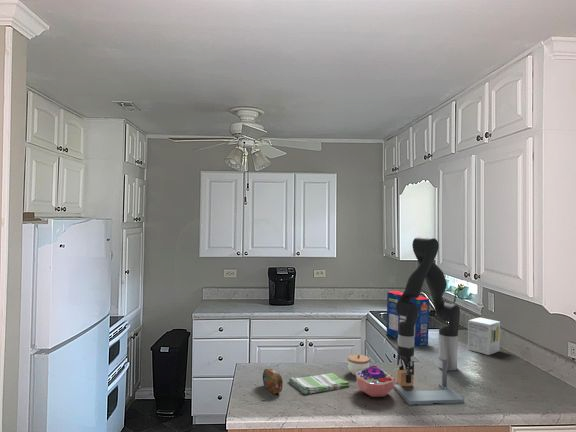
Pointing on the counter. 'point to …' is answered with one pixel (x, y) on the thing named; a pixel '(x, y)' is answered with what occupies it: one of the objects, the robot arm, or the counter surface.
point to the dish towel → (318, 383)
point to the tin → (272, 381)
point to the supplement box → (484, 335)
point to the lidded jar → (357, 362)
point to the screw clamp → (431, 392)
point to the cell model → (375, 381)
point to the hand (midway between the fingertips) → (404, 379)
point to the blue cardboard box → (395, 319)
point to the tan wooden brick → (403, 378)
